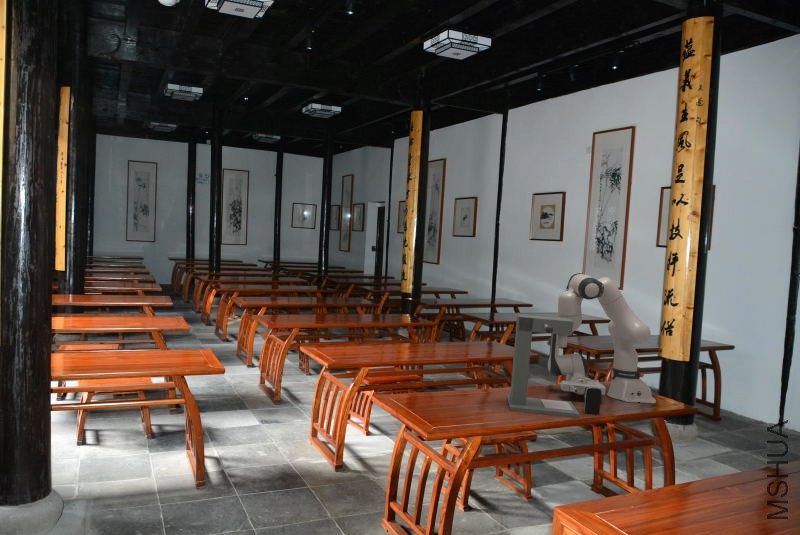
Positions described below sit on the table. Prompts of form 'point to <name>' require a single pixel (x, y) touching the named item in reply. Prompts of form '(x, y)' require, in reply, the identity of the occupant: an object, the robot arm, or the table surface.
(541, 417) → the table surface
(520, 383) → the press
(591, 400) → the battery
